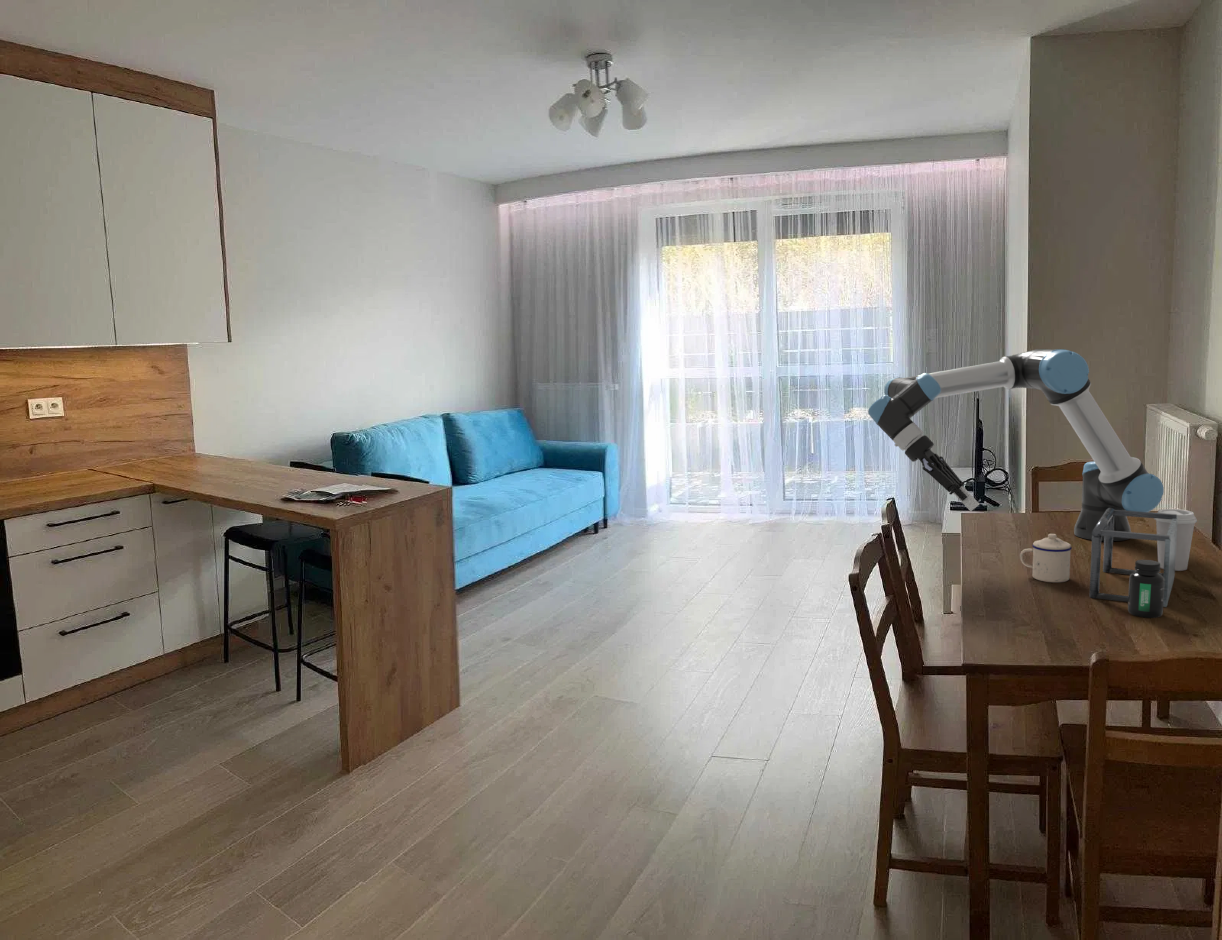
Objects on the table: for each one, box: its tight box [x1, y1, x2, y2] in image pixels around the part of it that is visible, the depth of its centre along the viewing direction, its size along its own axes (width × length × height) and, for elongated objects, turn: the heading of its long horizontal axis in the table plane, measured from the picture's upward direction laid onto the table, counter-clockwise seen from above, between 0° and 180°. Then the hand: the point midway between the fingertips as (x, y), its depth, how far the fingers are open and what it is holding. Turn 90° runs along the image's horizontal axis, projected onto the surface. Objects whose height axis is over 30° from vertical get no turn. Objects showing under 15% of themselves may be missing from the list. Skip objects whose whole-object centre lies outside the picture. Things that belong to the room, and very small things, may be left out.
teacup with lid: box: [1019, 533, 1072, 583], centre depth 234 cm, size 12×9×12 cm
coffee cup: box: [1153, 508, 1198, 572], centre depth 238 cm, size 10×10×15 cm
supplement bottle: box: [1127, 559, 1165, 619], centre depth 204 cm, size 7×7×12 cm
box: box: [1088, 508, 1178, 608], centre depth 223 cm, size 27×16×17 cm, turn 145°
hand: (975, 507), depth 243 cm, fingers closed
